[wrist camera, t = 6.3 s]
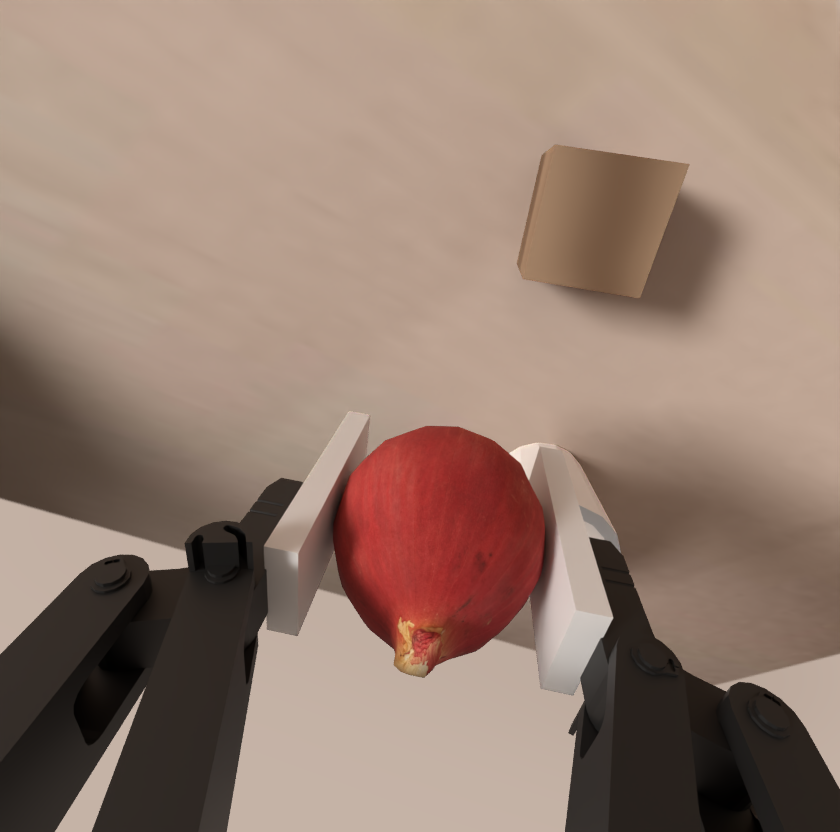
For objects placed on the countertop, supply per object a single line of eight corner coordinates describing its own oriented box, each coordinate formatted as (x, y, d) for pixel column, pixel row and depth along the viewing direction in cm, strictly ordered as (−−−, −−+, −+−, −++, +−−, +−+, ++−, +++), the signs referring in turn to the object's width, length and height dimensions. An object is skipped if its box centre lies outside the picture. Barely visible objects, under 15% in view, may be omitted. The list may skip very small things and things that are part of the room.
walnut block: (516, 263, 23) (523, 279, 19) (541, 155, 21) (555, 144, 17) (610, 278, 23) (639, 298, 19) (646, 170, 21) (689, 164, 16)
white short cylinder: (540, 535, 31) (552, 619, 25) (465, 481, 30) (459, 555, 24) (616, 476, 28) (651, 555, 22) (536, 413, 27) (550, 478, 21)
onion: (554, 499, 16) (611, 747, 9) (413, 539, 17) (364, 773, 10) (494, 358, 14) (504, 533, 7) (341, 419, 15) (218, 609, 8)
